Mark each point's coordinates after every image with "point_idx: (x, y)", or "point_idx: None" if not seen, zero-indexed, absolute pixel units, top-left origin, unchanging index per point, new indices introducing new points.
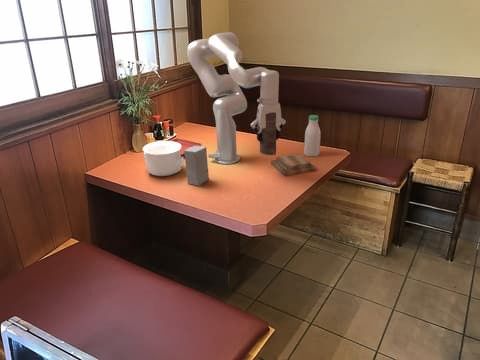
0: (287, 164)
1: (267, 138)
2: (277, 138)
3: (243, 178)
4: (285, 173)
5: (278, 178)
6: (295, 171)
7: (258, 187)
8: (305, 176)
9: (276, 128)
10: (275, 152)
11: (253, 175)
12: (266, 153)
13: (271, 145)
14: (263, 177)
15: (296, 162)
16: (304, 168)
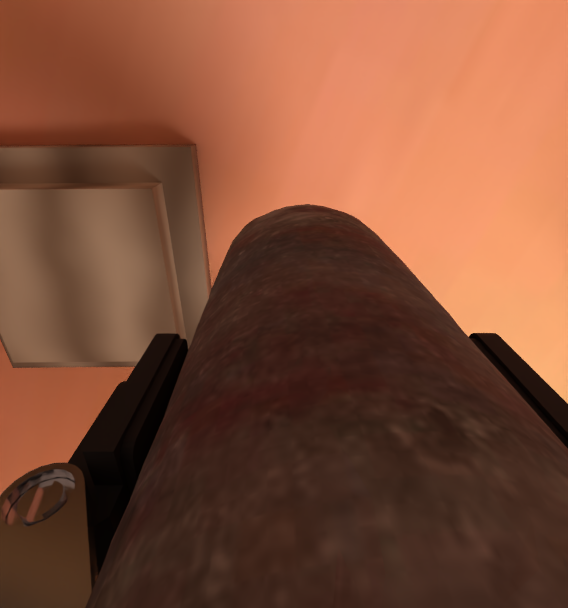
0: (137, 228)
1: (427, 306)
2: (167, 343)
3: (467, 222)
4: (187, 146)
5: (254, 124)
6: (101, 146)
7: (463, 21)
8: (41, 71)
9: (110, 545)
10: (241, 234)
11: (388, 240)
12: (363, 224)
13: (317, 236)
14: (344, 185)
15: (57, 236)
16: (18, 169)
